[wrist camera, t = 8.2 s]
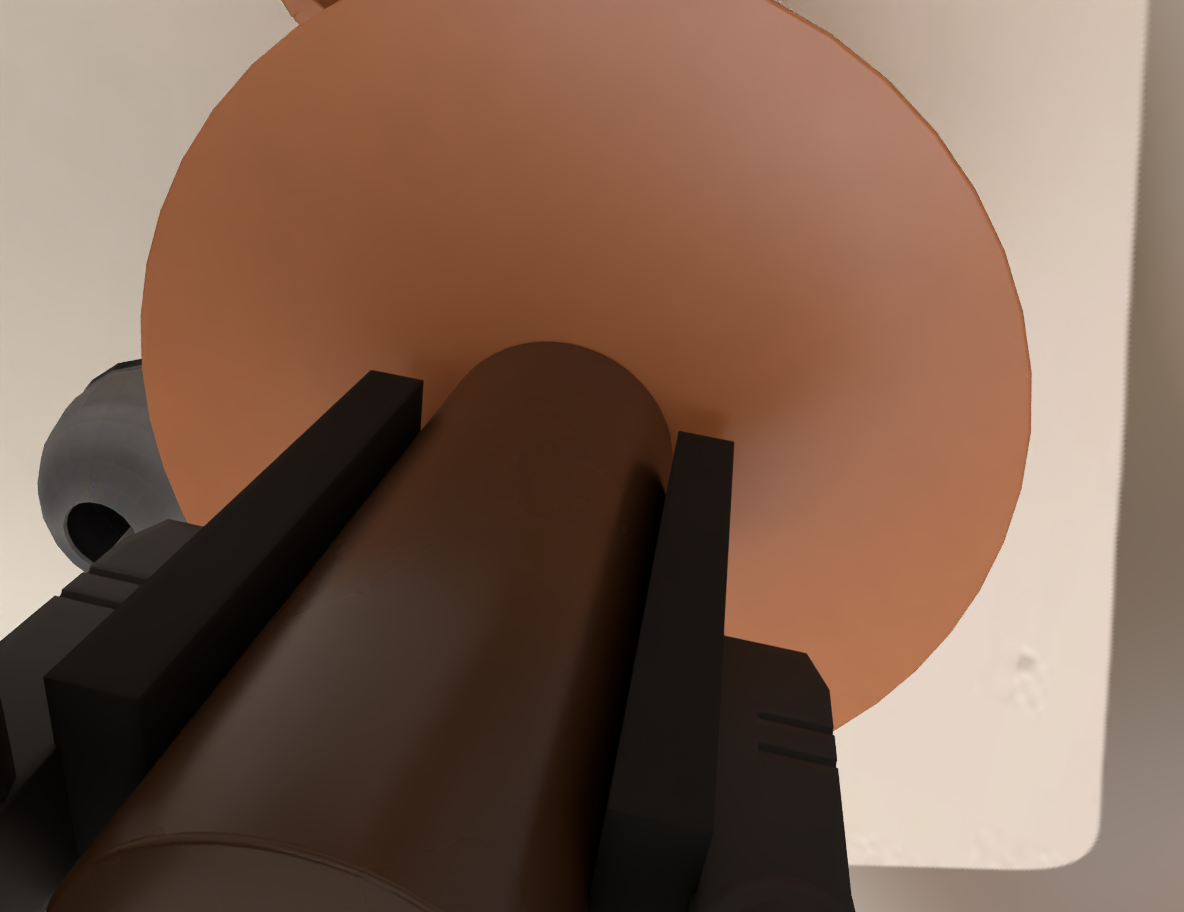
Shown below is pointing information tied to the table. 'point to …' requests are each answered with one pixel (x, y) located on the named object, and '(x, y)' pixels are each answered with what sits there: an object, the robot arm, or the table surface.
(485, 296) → the lid
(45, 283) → the table surface
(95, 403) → the beverage cup
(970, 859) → the table surface
